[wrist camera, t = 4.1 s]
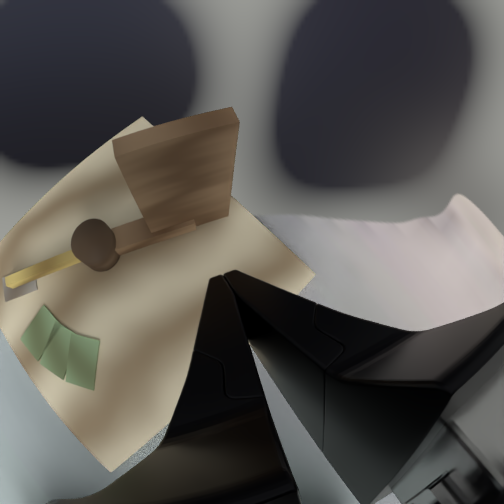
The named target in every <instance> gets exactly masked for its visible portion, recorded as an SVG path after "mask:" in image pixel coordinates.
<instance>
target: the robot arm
mask: <svg viewBox="0 0 504 504" xmlns="http://www.w3.org/2000/svg"><path fill="white" fill-rule="evenodd" d="M249 343H250V345H251V347H252V348H253V350H254V352H255V353H256V355H257V356H258V358H259V359H260V361H261V363H262V364H263V366H264V367H265V369H266V370H267V372H268V373H269V375H270V376H271V378H272V379H273V381H274V383H275V384H276V386H277V387H278V389H279V390H280V392H281V393H282V395H283V396H284V398H285V399H286V401H287V402H288V404H289V405H290V407H291V408H292V410H293V411H294V413H295V414H296V415H297V417H298V418H299V420H300V421H301V423H302V424H303V426H304V427H305V429H306V430H307V431H308V433H309V434H310V436H311V437H312V439H313V440H314V441H315V443H316V444H317V446H318V447H319V448H320V450H321V451H322V452H323V454H324V456H325V457H326V458H327V460H328V461H329V463H330V464H331V465H332V467H333V468H334V469H335V471H336V472H337V473H338V475H339V476H340V478H341V479H342V480H343V482H344V483H345V484H346V486H347V487H348V488H349V490H350V491H351V492H352V493H353V495H354V496H355V497H356V499H357V500H358V501H359V503H360V504H374V503H376V502H377V501H379V500H381V499H382V498H384V497H386V496H387V495H389V494H390V493H392V492H393V493H394V494H395V496H396V497H397V498H398V500H399V501H400V503H401V504H504V303H502V304H500V305H498V306H496V307H494V308H492V309H490V310H487V311H485V312H482V313H479V314H476V315H473V316H470V317H467V318H465V319H462V320H458V321H455V322H452V323H449V324H446V325H443V326H440V327H436V328H433V329H429V330H425V331H406V330H402V329H398V328H394V327H390V326H386V325H383V324H379V323H375V322H372V321H368V320H364V319H361V318H357V317H354V316H351V315H348V314H344V313H342V312H339V311H336V310H333V309H331V308H328V307H326V306H323V305H321V304H317V303H315V302H313V301H311V300H308V299H306V298H303V297H301V296H298V295H296V294H293V293H291V292H289V291H286V290H284V289H281V288H279V287H277V286H274V285H272V284H269V283H267V282H265V281H262V280H260V279H257V278H255V277H253V276H250V275H248V274H246V273H243V272H241V271H238V270H232V271H229V272H226V273H224V274H223V275H217V276H215V277H212V278H210V279H209V282H208V286H207V290H206V294H205V299H204V303H203V307H202V312H201V316H200V321H199V325H198V330H197V334H196V339H195V343H194V348H193V352H192V357H191V361H190V365H189V369H188V373H187V377H186V380H185V383H184V386H183V388H182V391H181V394H180V397H179V399H178V402H177V405H176V407H175V410H174V413H173V415H172V418H171V421H170V423H169V426H168V429H167V431H166V434H165V436H164V438H163V440H162V441H161V443H160V444H159V446H158V447H157V448H156V449H155V450H154V451H153V452H152V453H151V454H150V455H148V456H147V457H146V458H145V459H143V460H142V461H141V462H139V463H138V464H137V465H136V466H134V467H133V468H132V469H130V470H129V471H128V472H126V473H125V474H124V475H122V476H121V477H120V478H118V479H117V480H115V481H114V482H113V483H111V484H110V485H109V486H107V487H106V488H104V489H102V490H101V491H99V492H97V493H94V494H92V495H90V496H86V497H83V498H77V499H57V500H51V501H49V502H47V503H46V504H302V502H301V498H300V494H299V489H298V487H297V484H296V482H295V479H294V477H293V474H292V472H291V469H290V466H289V464H288V461H287V458H286V455H285V453H284V450H283V447H282V444H281V442H280V439H279V436H278V433H277V430H276V428H275V425H274V422H273V419H272V416H271V413H270V410H269V407H268V404H267V401H266V397H265V394H264V391H263V388H262V384H261V381H260V378H259V375H258V371H257V368H256V365H255V361H254V358H253V355H252V351H251V348H250V345H249Z"/></svg>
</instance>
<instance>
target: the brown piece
mask: <svg viewBox="0 0 504 504" xmlns="http://www.w3.org/2000/svg"><path fill="white" fill-rule="evenodd" d="M239 123H240V122H239V120H238V118H237V116H236V114H235V112H234V110H233V108H232V107H229V108H224V109H220V110H215V111H211V112H206V113H202V114H198V115H194V116H190V117H186V118H183V119H178V120H175V121H171V122H167V123H164V124H160V125H157V126H154V127H150V128H147V129H144V130H140V131H137V132H134V133H131V134H128V135H125V136H122V137H119V138H116V139H114V140H112V144H113V151H114V157H115V159H116V162H117V164H118V166H119V168H120V170H121V172H122V175H123V177H124V179H125V181H126V183H127V185H128V187H129V189H130V191H131V194H132V196H133V198H134V200H135V202H136V204H137V206H138V208H139V210H140V212H141V214H142V216H143V218H140V219H137V220H134V221H132V222H129V223H126V224H123V225H120V226H117V227H115V228H112V229H110V228H109V226H108V225H107V224H106V223H105V222H104V221H102V220H100V219H95V218H94V219H88V220H86V221H84V222H82V223H81V224H80V225H79V226H78V227H77V228H76V229H75V231H74V233H73V235H72V238H71V249H72V250H70V251H67V252H65V253H62V254H59V255H57V256H54V257H52V258H49V259H47V260H44V261H42V262H40V263H37V264H35V265H32V266H30V267H28V268H25V269H23V270H20V271H18V272H16V273H13V274H11V275H9V276H7V277H5V283H6V286H7V287H10V288H12V289H13V288H16V287H18V286H21V285H23V284H26V283H28V282H31V281H33V280H36V279H38V278H41V277H43V276H46V275H49V274H51V273H54V272H56V271H59V270H61V269H64V268H67V267H69V266H72V265H75V264H77V263H80V262H83V263H84V264H85V265H87V266H88V267H90V268H91V269H92V270H94V271H98V272H103V271H107V270H109V269H111V268H112V267H114V266H115V265H116V263H117V262H118V260H119V258H120V256H121V255H123V254H126V253H129V252H131V251H134V250H137V249H140V248H143V247H146V246H149V245H152V244H155V243H158V242H161V241H164V240H167V239H170V238H173V237H176V236H179V235H182V234H185V233H188V232H191V231H194V230H196V226H199V225H202V224H205V223H208V222H211V221H214V220H218V219H221V218H224V217H227V216H229V207H230V198H231V189H232V181H233V172H234V163H235V155H236V147H237V139H238V131H239Z"/></svg>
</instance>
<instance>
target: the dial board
mask: <svg viewBox="0 0 504 504" xmlns="http://www.w3.org/2000/svg"><path fill="white" fill-rule="evenodd" d="M150 127H154V126H152V125H151V124H150V123H149V122H148V121H146V120H145V119H144V118H143V117H141V118H140V119H138V120H137V121H135V122H134V123H133V124H131V125H129V126H128V127H127V128H125V129H124V130H123V131H121V132H120V133H118V134H117V135H116V136H114V137H113V138H112V139H110V140H109V141H108V142H106V143H105V144H104V145H103V146H101V147H100V148H99V149H97V150H96V151H95V152H94V153H92V154H91V155H90V156H89V157H87V158H86V159H85V160H84V161H83V162H81V163H80V164H79V165H78V166H76V167H75V168H74V169H73V170H72V171H71V172H69V173H68V174H67V175H66V176H65V177H64V178H63V179H61V180H60V181H59V182H58V183H57V184H56V185H55V186H54V187H53V188H52V189H51V190H49V191H48V192H47V193H46V194H45V195H44V196H43V197H42V198H41V199H40V200H39V201H38V202H37V203H36V204H35V205H34V206H33V207H32V208H31V209H30V210H29V211H28V212H27V213H26V214H25V215H24V216H23V217H22V218H21V219H20V220H19V221H18V223H17V224H16V225H15V226H14V227H13V228H12V229H11V230H10V231H9V232H8V233H7V235H6V236H5V237H4V238H3V239H2V240H1V241H0V328H1V330H2V332H3V334H4V336H5V337H6V339H7V341H8V343H9V344H10V346H11V348H12V350H13V351H14V353H15V355H16V356H17V358H18V360H19V361H20V363H21V364H22V366H23V367H24V369H25V371H26V372H27V374H28V375H29V377H30V378H31V380H32V381H33V383H34V384H35V385H36V387H37V388H38V390H39V391H40V392H41V394H42V395H43V397H44V398H45V399H46V401H47V402H48V403H49V405H50V406H51V407H52V409H53V410H54V411H55V412H56V414H57V415H58V416H59V417H60V419H61V420H62V421H63V422H64V423H65V425H66V426H67V427H68V428H69V429H70V431H71V432H72V433H73V434H74V435H75V436H76V437H77V439H78V440H79V441H80V442H81V443H82V444H83V445H84V446H85V447H86V448H87V449H88V450H89V452H90V453H91V454H92V455H93V456H94V457H95V458H96V459H97V460H98V461H99V462H100V463H101V464H102V465H103V466H104V467H105V468H106V469H107V470H108V471H110V472H112V471H114V470H115V469H116V468H117V467H119V466H120V465H121V464H122V463H123V462H125V461H126V460H127V459H128V458H129V457H130V456H132V455H133V454H134V453H135V452H136V451H138V450H139V449H140V448H141V447H142V446H143V445H145V444H146V443H147V442H148V441H149V440H150V439H151V438H153V437H154V436H155V435H156V434H157V433H158V432H159V431H160V430H162V429H163V428H164V427H165V426H166V425H167V424H168V423H169V422H170V421H171V418H172V415H173V413H174V410H175V407H176V405H177V402H178V399H179V397H180V394H181V391H182V388H183V386H184V383H185V380H186V377H187V373H188V369H189V365H190V361H191V357H192V352H193V348H194V343H195V339H196V334H197V330H198V325H199V321H200V316H201V312H202V307H203V303H204V299H205V294H206V290H207V286H208V282H209V279H210V278H212V277H215V276H217V275H223V274H224V273H226V272H229V271H232V270H238V271H241V272H243V273H246V274H248V275H250V276H253V277H255V278H257V279H260V280H262V281H265V282H267V283H269V284H272V285H274V286H277V287H279V288H281V289H284V290H286V291H289V292H291V293H293V294H296V295H298V294H299V292H300V291H301V290H302V289H303V288H304V287H305V286H306V285H307V284H308V283H309V281H310V280H311V279H312V278H313V277H314V276H315V275H316V274H315V273H314V272H313V271H312V270H311V269H310V268H309V267H308V266H306V265H305V264H304V263H303V262H302V261H301V260H300V259H299V258H298V257H297V256H296V255H295V254H294V253H293V252H292V251H291V250H290V249H289V248H287V247H286V246H285V245H284V244H283V243H282V242H281V241H280V240H279V239H278V238H277V237H276V236H275V235H274V234H273V233H271V232H270V231H269V230H268V229H267V228H266V227H265V226H264V225H263V224H262V223H261V222H260V221H259V220H257V219H256V218H255V217H254V216H253V215H252V214H251V213H250V212H249V211H248V210H247V209H245V208H244V207H243V206H242V205H241V204H240V203H239V202H238V201H237V200H236V199H235V198H233V197H232V196H231V198H230V207H229V216H227V217H224V218H221V219H218V220H214V221H211V222H208V223H205V224H202V225H199V226H196V230H194V231H191V232H188V233H185V234H182V235H179V236H176V237H173V238H170V239H167V240H164V241H161V242H158V243H155V244H152V245H149V246H146V247H143V248H140V249H137V250H134V251H131V252H129V253H126V254H123V255H121V256H120V258H119V260H118V262H117V263H116V265H115V266H114V267H112V268H111V269H109V270H107V271H103V272H98V271H94V270H92V269H91V268H90V267H88V266H87V265H85V264H84V263H83V262H80V263H77V264H75V265H72V266H69V267H67V268H64V269H61V270H59V271H56V272H54V273H51V274H49V275H46V276H43V277H41V278H38V279H36V280H33V281H31V282H28V283H26V284H23V285H21V286H18V287H16V288H13V289H12V288H10V287H7V286H6V283H5V277H7V276H9V275H11V274H13V273H16V272H18V271H20V270H23V269H25V268H28V267H30V266H32V265H35V264H37V263H40V262H42V261H44V260H47V259H49V258H52V257H54V256H57V255H59V254H62V253H65V252H67V251H70V250H72V249H71V238H72V235H73V233H74V231H75V229H76V228H77V227H78V226H79V225H80V224H81V223H82V222H84V221H86V220H88V219H94V218H95V219H100V220H102V221H104V222H105V223H106V224H107V225H108V226H109V228H110V229H112V228H115V227H117V226H120V225H123V224H126V223H129V222H132V221H134V220H137V219H140V218H143V216H142V214H141V212H140V210H139V208H138V206H137V204H136V202H135V200H134V198H133V196H132V194H131V191H130V189H129V187H128V185H127V183H126V181H125V179H124V177H123V175H122V172H121V170H120V168H119V166H118V164H117V162H116V159H115V157H114V151H113V144H112V140H114V139H116V138H119V137H122V136H125V135H128V134H131V133H134V132H137V131H140V130H144V129H147V128H150ZM249 345H250V343H249Z"/></svg>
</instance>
